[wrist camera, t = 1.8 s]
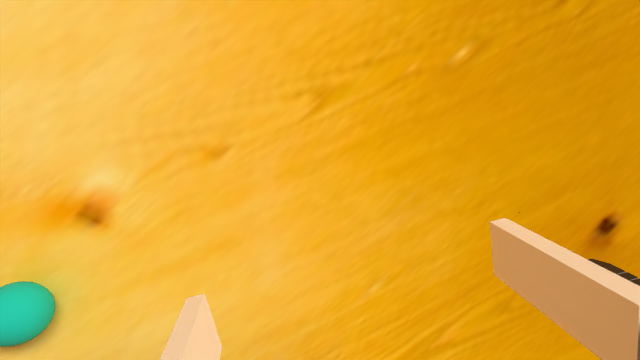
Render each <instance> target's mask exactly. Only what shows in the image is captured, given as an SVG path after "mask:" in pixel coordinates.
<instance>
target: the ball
mask: <svg viewBox="0 0 640 360" xmlns="http://www.w3.org/2000/svg"><path fill="white" fill-rule="evenodd" d="M54 312H55V301H54V298H53V295H52V294H51V292H50V291H49V290H48V289H47V288H45V287H44V286H42V285H40V284H37V283H34V282H15V283H10V284H7V285H5V286H2V287H0V346H3V347H4V346H15V345H19V344H22V343H25V342H27V341H29V340H31V339H33V338H35V337H36V336H38V335H39V334H40V333H41V332H42V331H43V330H44V329H45V328H46V327H47V326H48V325H49V323H50V322H51V320H52V318H53V315H54Z"/></svg>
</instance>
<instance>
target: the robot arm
mask: <svg viewBox="0 0 640 360" xmlns="http://www.w3.org/2000/svg"><path fill="white" fill-rule="evenodd" d="M490 232H491V244H492V257H493V269H494V275H495V276H496V277H498V278H499V279H500V280H502V281H503V282H504V283H505V284H507V285H508V286H509V287H510V288H512V289H513V290H514V291H515V292H517V293H518V294H519V295H521V296H522V297H523V298H524V299H526V300H527V301H528V302H529V303H531V304H532V305H533V306H534V307H536V308H537V309H538V310H540V311H541V312H542V313H543V314H545V315H546V316H547V317H548V318H550V319H551V320H552V321H554V322H555V323H556V324H557V325H559V326H560V327H561V328H562V329H564V330H565V331H566V332H567V333H569V334H570V335H571V336H573V337H574V338H575V339H576V340H578V341H579V342H580V343H581V344H583V345H584V346H585V347H586V348H588V349H589V350H590V351H592V352H593V353H594V354H595V355H597V356H598V357H599V358H600V359H602V360H640V279H638V278H637V277H636V276H634V275H632V274H630V273H626V272H625V271H624V270H622V269H620V268H618V267H616V266H613V265H611V264H609V263H605V262H602V261H598V260H595V259H588V260H587V259H585V258H583V257H581V256H579V255H577V254H575V253H573V252H571V251H569V250H567V249H565V248H563V247H561V246H559V245H558V244H556V243H554V242H552V241H550V240H548V239H546V238H544V237H542V236H540V235H538V234H536V233H534V232H532V231H530V230H528V229H526V228H524V227H522V226H520V225H518V224H516V223H514V222H512V221H510V220H508V219H506V218H503V219H499V220H495V221H491V222H490ZM221 350H222V345H221V342H220V339H219V336H218V333H217V330H216V327H215V324H214V320H213V317H212V314H211V311H210V308H209V305H208V302H207V299H206V296H205V294H201V295H197V296H193V297H189V298H187V299H186V301H185V303H184V306H183V308H182V310H181V313H180V315H179V317H178V319H177V322H176V324H175V326H174V329H173V331H172V333H171V335H170V338H169V340H168V342H167V345H166V347H165V349H164V351H163V354H162V356H161V358H160V360H219V359H220V354H221Z"/></svg>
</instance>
